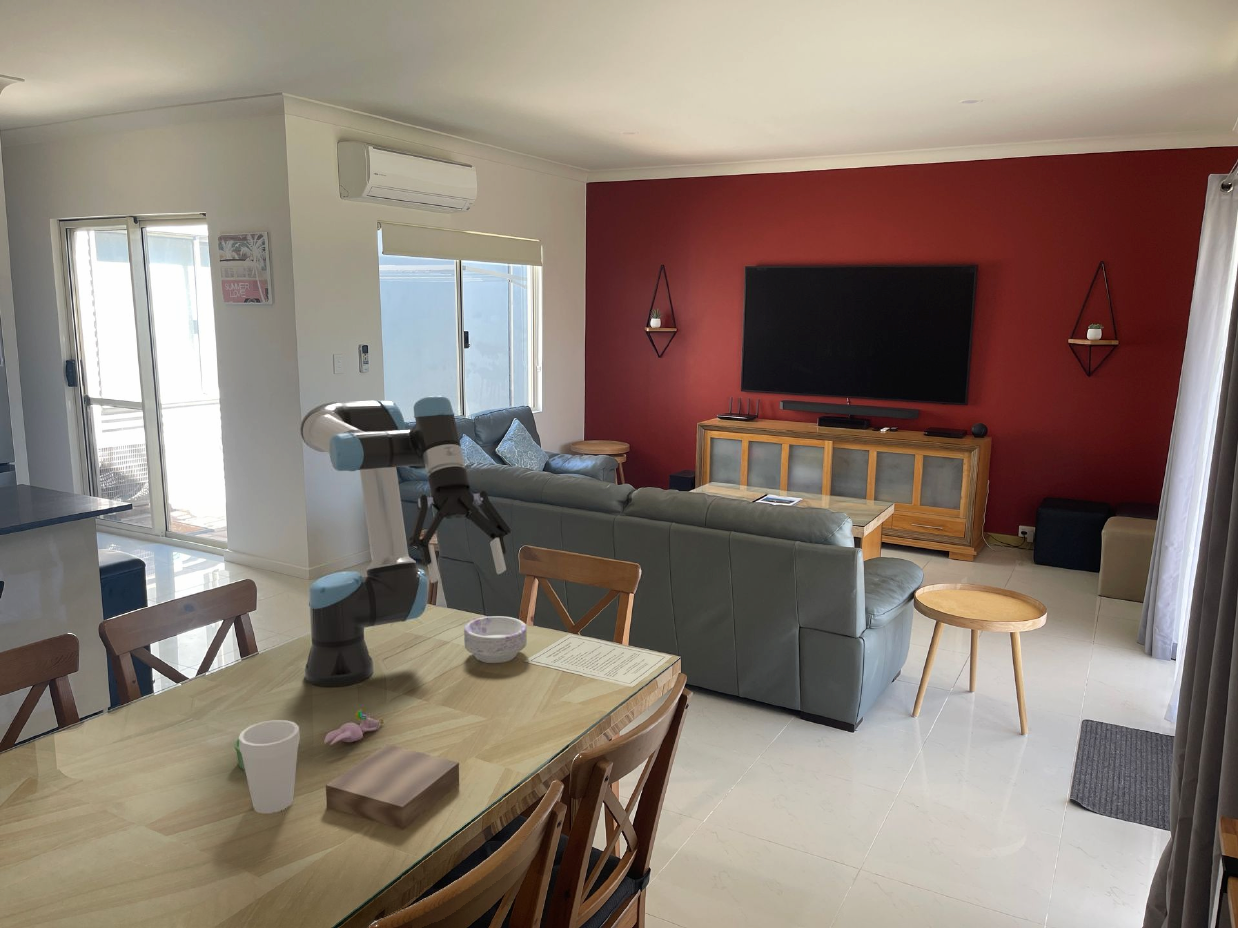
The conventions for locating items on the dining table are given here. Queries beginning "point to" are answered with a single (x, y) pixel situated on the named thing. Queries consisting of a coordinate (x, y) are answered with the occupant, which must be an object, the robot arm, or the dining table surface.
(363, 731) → the rabbit figure
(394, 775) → the walnut base
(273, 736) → the foam cup
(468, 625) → the white bowl
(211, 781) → the dining table surface
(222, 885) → the dining table surface
